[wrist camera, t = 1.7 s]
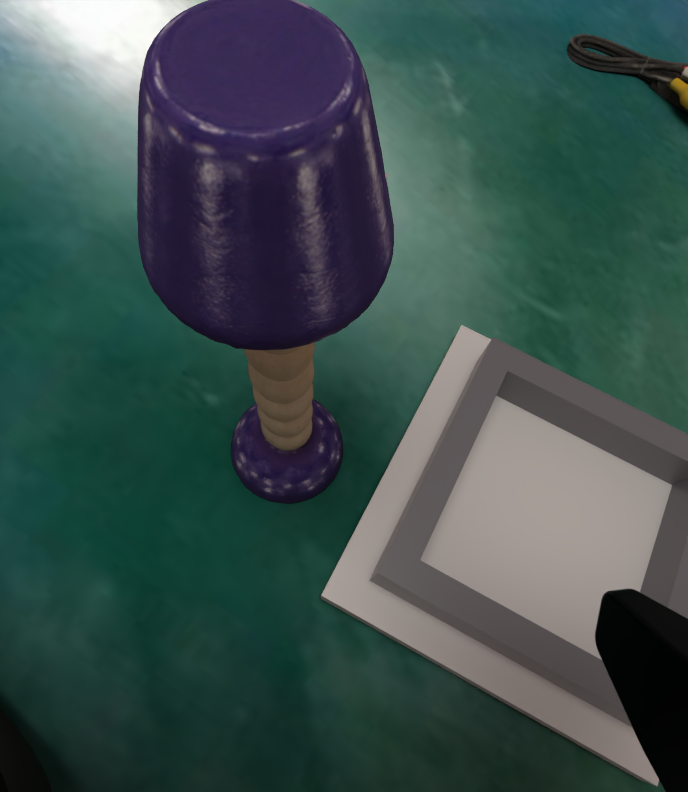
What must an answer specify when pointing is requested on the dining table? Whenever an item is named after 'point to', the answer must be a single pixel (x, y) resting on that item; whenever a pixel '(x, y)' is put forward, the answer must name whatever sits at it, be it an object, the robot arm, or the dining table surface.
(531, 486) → the socket plate
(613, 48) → the composite cable
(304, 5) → the toy lamp
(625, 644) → the robot arm
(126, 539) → the dining table surface
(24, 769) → the muzzle brake
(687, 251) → the dining table surface
